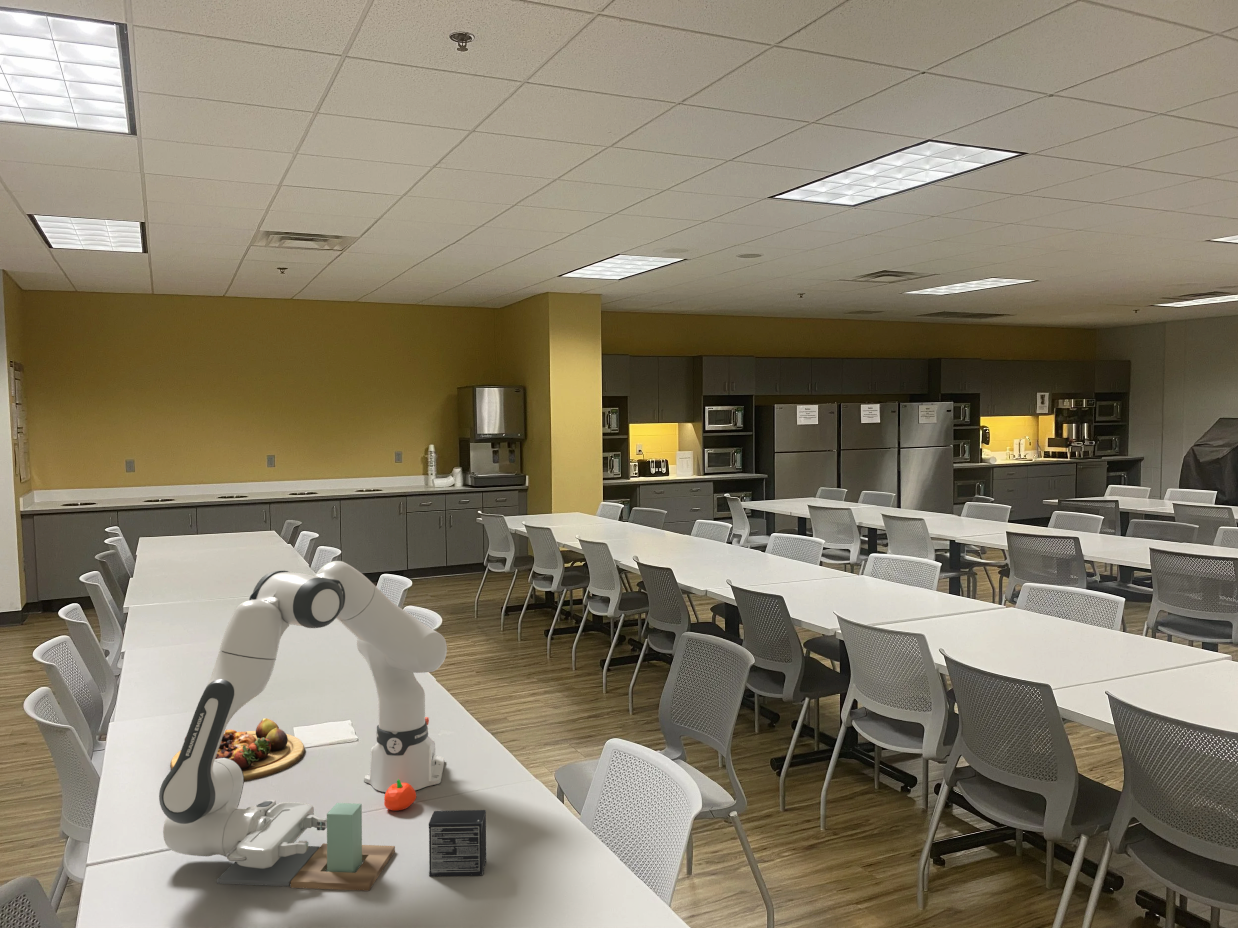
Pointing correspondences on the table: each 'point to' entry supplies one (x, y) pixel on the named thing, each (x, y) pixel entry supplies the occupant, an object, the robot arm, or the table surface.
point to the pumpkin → (399, 796)
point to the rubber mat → (268, 871)
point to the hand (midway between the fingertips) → (317, 835)
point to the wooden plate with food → (259, 750)
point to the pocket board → (361, 880)
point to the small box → (457, 843)
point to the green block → (344, 838)
